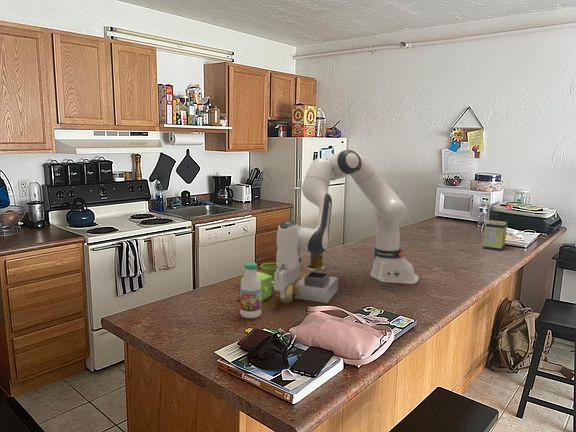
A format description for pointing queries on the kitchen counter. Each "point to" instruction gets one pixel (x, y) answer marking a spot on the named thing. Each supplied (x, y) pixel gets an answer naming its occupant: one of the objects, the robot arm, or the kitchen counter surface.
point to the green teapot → (265, 285)
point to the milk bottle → (250, 292)
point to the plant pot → (269, 269)
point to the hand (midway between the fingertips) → (286, 294)
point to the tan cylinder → (288, 294)
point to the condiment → (315, 262)
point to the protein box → (495, 235)
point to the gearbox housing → (316, 287)
